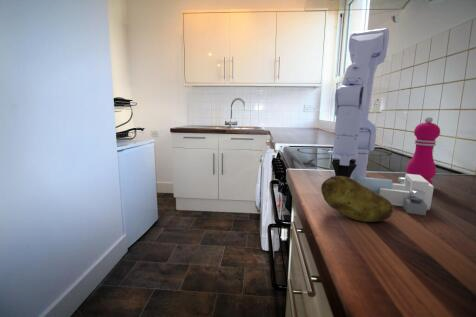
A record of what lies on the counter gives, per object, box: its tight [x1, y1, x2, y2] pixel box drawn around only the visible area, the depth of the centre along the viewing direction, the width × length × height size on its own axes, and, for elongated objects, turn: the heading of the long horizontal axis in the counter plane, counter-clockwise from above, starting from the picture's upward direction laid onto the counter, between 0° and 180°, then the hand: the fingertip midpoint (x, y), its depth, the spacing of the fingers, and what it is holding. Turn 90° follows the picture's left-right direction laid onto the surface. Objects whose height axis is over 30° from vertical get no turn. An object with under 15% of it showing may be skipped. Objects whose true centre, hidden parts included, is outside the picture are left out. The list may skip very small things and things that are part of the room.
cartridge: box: [354, 176, 393, 194], centre depth 64 cm, size 4×12×5 cm, turn 68°
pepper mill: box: [405, 116, 441, 185], centre depth 74 cm, size 7×7×20 cm
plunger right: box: [408, 190, 425, 203], centre depth 55 cm, size 3×3×4 cm
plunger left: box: [396, 176, 405, 184], centre depth 66 cm, size 3×3×4 cm
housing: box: [379, 173, 435, 216], centre depth 61 cm, size 15×10×6 cm, turn 158°
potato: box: [320, 175, 393, 223], centre depth 51 cm, size 8×13×8 cm, turn 52°
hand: (341, 187), depth 66 cm, fingers closed on cartridge, 3 cm apart
